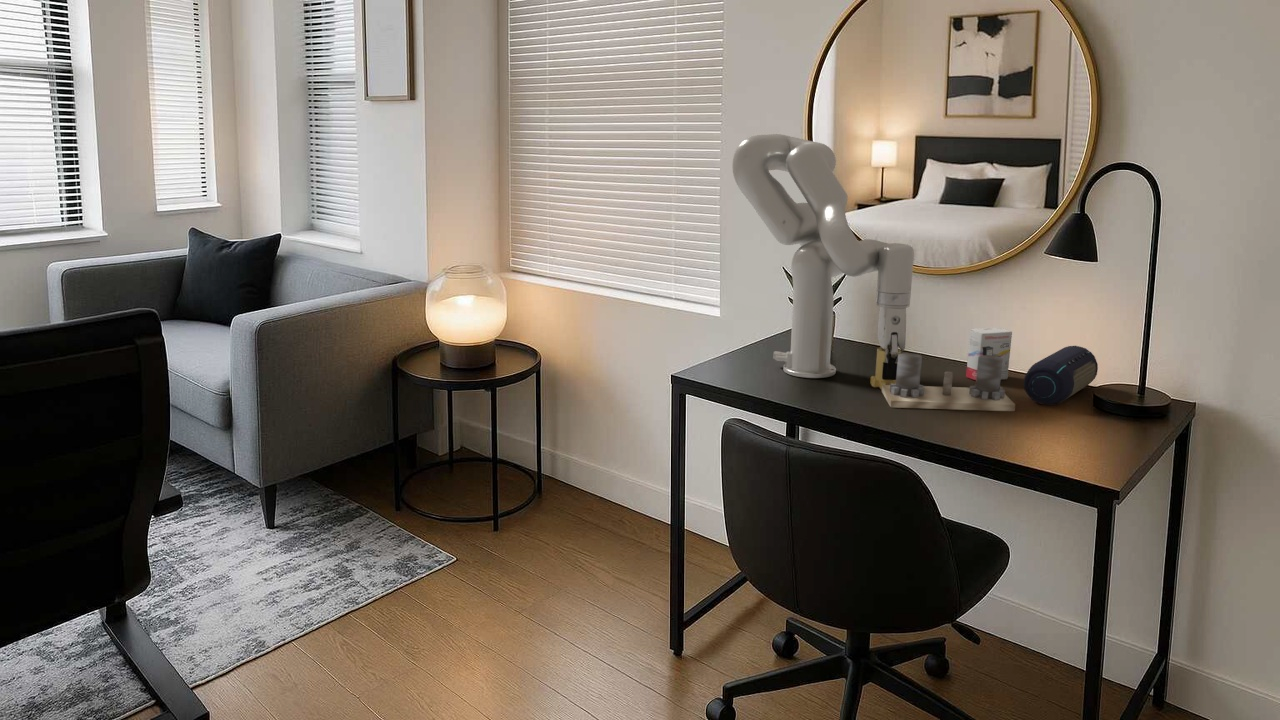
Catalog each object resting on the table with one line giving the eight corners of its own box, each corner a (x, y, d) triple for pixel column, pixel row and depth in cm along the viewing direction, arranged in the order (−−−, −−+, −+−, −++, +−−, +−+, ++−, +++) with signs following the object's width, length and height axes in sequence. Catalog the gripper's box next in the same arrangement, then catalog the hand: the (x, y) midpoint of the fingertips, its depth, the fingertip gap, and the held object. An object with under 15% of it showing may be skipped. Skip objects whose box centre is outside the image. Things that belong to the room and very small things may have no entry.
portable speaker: (1063, 413, 207) (1069, 368, 204) (1016, 403, 213) (1021, 359, 210) (1099, 388, 225) (1105, 346, 222) (1055, 380, 231) (1060, 339, 229)
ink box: (977, 382, 228) (982, 333, 225) (964, 376, 233) (969, 328, 230) (1008, 379, 231) (1014, 331, 227) (995, 374, 235) (1000, 326, 232)
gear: (873, 389, 222) (875, 353, 220) (868, 380, 229) (871, 345, 227) (904, 390, 221) (907, 354, 219) (899, 381, 228) (902, 346, 226)
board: (890, 407, 209) (894, 362, 206) (881, 391, 220) (884, 348, 218) (1014, 411, 207) (1019, 366, 204) (998, 394, 219) (1003, 351, 216)
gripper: (917, 306, 211) (910, 387, 216) (903, 292, 228) (897, 366, 232) (882, 306, 212) (876, 385, 217) (870, 291, 228) (865, 365, 233)
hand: (887, 375), depth 224 cm, fingers closed on gear, 5 cm apart
